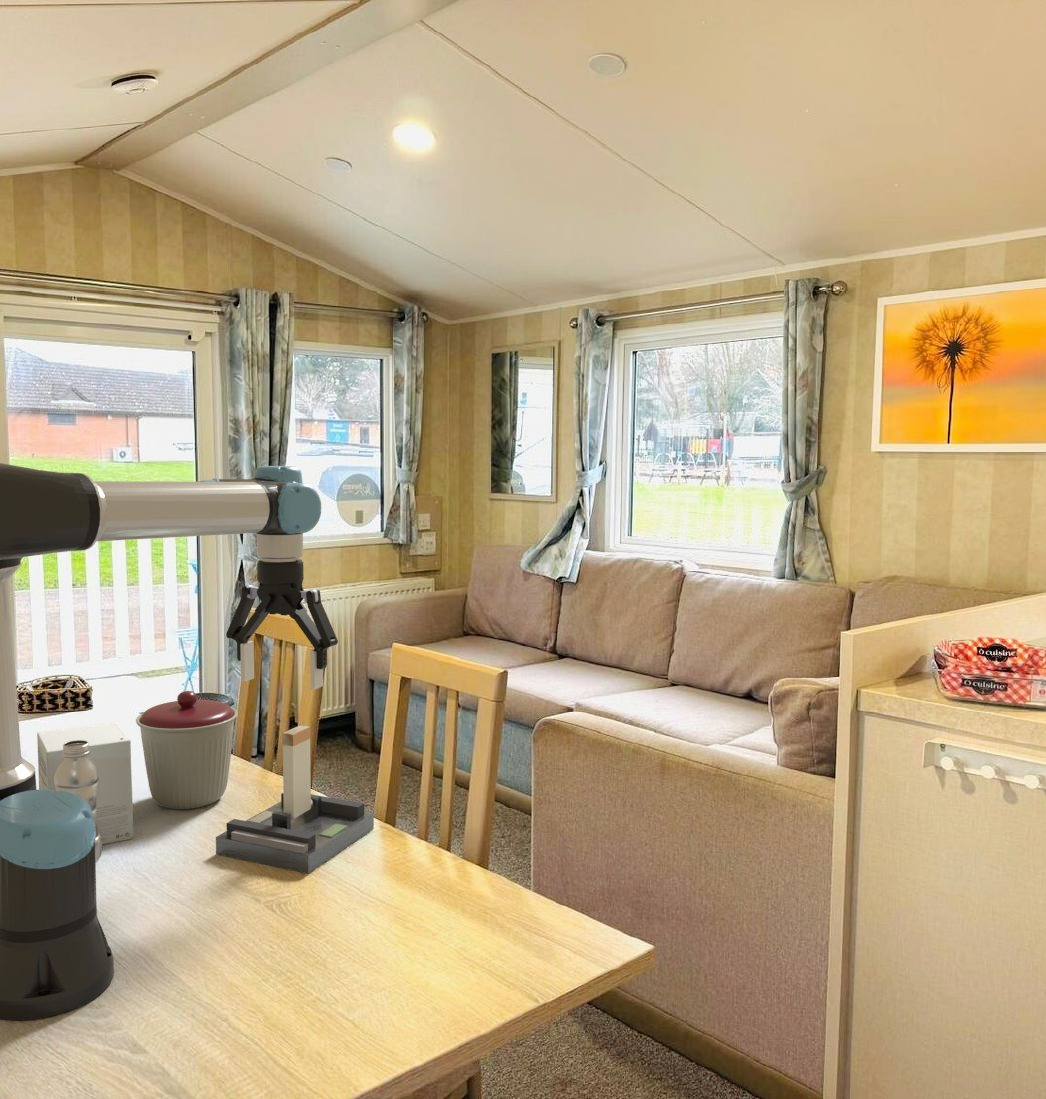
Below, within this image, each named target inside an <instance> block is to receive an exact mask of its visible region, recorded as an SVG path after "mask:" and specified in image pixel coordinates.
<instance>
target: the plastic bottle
mask: <svg viewBox="0 0 1046 1099" xmlns="http://www.w3.org/2000/svg"><path fill="white" fill-rule="evenodd" d="M62 755H63V757H65V758H64V760H63V762H62V763H61V764H60V766H59V767H58V769H57V771H56V772H55V776H54V783H55V788H56V791H59V790H62V791H67V792H71V793H74V794H76V795H78V796H80V797H82V798H83V799H84V800H86V801H87V802H88V804H89V805H90V807H91V809H92V813H93V820H94V824H95V829H96V840H95V864H96V863H98V862H99V860H100V858H102V852H103V844H102V842H101V838H100V834H99V830H98V822H97V815H96V812H97V808H96V806H97V789H98V780H99V773H98V770H97V767H96V766H95V765H94V763H93V762H92V761H91V760H90V759H89V758H88V756H87V755H89V743H88V741H85V740H75V741H69V742H66V743H64V744H63V753H62Z"/></svg>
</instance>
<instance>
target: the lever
mask: <svg viewBox="0 0 1046 1099" xmlns="http://www.w3.org/2000/svg"><path fill="white" fill-rule="evenodd" d="M281 735H282V780H283V781H282V783H283V786H282V789H283V791H282V793H283V802H284V813H289V814H291V819H294V818H296V817H298V816H300V815H301V814H303V813H305V812H306V811H308V810H310V809H311V807H313V801H312V800H311V794H312V793H311V792H312V791H311V787H312V786H311V783H312V782H311V781H312V780H311V779H312V778H311V775H312V774H311V726H308V725H306V726H305V725H298V726H295V727H294V728H291V729H289V730H286V731H284V732H282V734H281Z"/></svg>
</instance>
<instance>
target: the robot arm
mask: <svg viewBox="0 0 1046 1099" xmlns="http://www.w3.org/2000/svg"><path fill="white" fill-rule="evenodd" d="M321 515H322V500H321V497H320V495H319V493H318V492H317V490H316V489H315V488H314V487H313V486H311V485H309V484H307V483H303V475H302V471H301V469H300V468H299V467H297V466H292V465H291V466H290V465H289V466H288V465H264V466H263V465H260V466H257V467H256V470H255V475H254V478H250V479H249V478H220V479H219V478H211V479H203V480H199V481H134V480H133V481H132V480H131V481H128V480H126V481H112V480H111V481H110V480H109V481H103V480H101V481H97V480H96V481H94V480H93V479H92V478H91V477H90V476H89V475H87V474H85V473H81V472H57V471H51V470H50V471H49V470H43V469H37V468H36V469H35V468H31V467H30V468H29V467H24V466H18V465H13V464H9V463H0V1019H3V1020H11V1021H12V1020H13V1021H24V1020H25V1021H26V1020H27V1021H29V1020H35V1019H36V1020H37V1019H42V1018H47V1017H52V1016H56V1015H60V1014H63V1013H67V1012H68V1011H71V1010H74V1009H76V1008H78V1007H81V1006H83V1005H85V1004H86V1003H89V1002H90V1001H92V1000H93V999H96V998H97V997H99V996H100V995H101V994H103V992H104V991H105V990H106V989H107V988H108V987H109V986H110V984H111V983H112V981H113V980H114V975H115V970H114V968H115V967H114V964H115V963H114V962H115V961H114V955H113V951H112V949H111V947H110V946H109V943H108V941H107V940H108V939H107V938H106V935H105V932H104V930H103V927H102V925H101V923H100V921H99V919H98V910H97V909H98V908H97V874H96V873H97V870H96V869H97V868H96V866H97V865H96V863H95V840H96V829H95V824H94V820H93V813H92V809H91V807H90V805H89V804H88V802H87V801H86V800H84V799H83V798H82V797H80V796H78V795H76V794H74V793H71V792H67V791H62V790H59V791H55V792H53V791H52V790H51V789H41V790H39V789H37V778H36V767H35V766H34V764H32V763H31V762H30V761H28V760H27V759H25V758H23V757H22V749H21V736H20V723H19V722H20V721H19V706H18V694H17V692H18V691H17V679H16V665H15V664H16V663H15V650H14V649H15V648H14V636H13V635H14V634H13V622H12V621H13V620H12V607H11V606H12V605H11V592H10V579H11V577H12V576H13V575H14V574H15V573H16V572H17V571H18V569H19V568H20V567H21V565H22V563H21V558H26V557H33V556H41V555H47V554H56V553H67V552H77V551H87V550H90V549H91V548H92V547H93V546H94V545H95V544H96V543H97V542H111V541H126V540H127V541H129V540H131V541H133V540H145V539H146V540H148V539H149V540H150V539H167V538H183V537H184V538H186V537H189V538H190V537H201V536H202V537H204V536H207V537H208V536H220V535H221V536H222V535H223V536H225V535H241V534H256V557H257V558H258V559H259V560H258V561H257V562H256V575H257V577H256V579H257V582H258V586H257V585H255V584H248V585H244V586H242V587H241V594H240V600H239V603H238V605H237V607H236V610H235V612H234V614H233V617H232V618H231V622H230V624H229V626H228V629H227V631H226V634H225V635H226V638H227V639H232V640H234V641H235V643H236V658H237V661H238V662H240V682H241V683H246V682H249V681H251V680H254V679H255V650H254V649H255V647H254V646H255V645H254V643H255V642H254V641H253V640H252V638H251V637H252V636H254V633H256V631H257V630H258V628H259V627H260V626H261V625H262V623H263V622H264V620H265V619H266V618H267V616H268V615H273V616H274V615H280V616H289V617H290V618H291V619H292V620H294V622H296V624H297V626H298V627H299V628H300V629H301V631H302V632H303V634H304V635H305V638H307V639H308V641H309V643H310V644H311V645H312V647H313V649H311V650H309V657H310V659H309V662H310V669H309V670H310V677H309V678H310V690H317V689H320V688H322V687H323V686H324V669H326V668H327V665H328V649H329V648H330V647H331V648H332V647H333V646H334V647H335V646H336V645H337V644H338V643H339V641H338V637H337V635H336V633H335V630H334V629H333V626H332V624H331V621H330V619H329V617H328V614H327V612H326V610H325V608H324V605H323V604H322V597H321V591H320V590H319V588H315V589H311V590H304V588H303V587H304V586H303V582H304V574H305V573H304V572H305V571H304V561H303V560H302V559H300V558H302V557H303V556H304V534H305V533H308V532H310V531H311V530H313V529H314V528H315V527H316V526H317V525H318V523H319V521H320V519H321ZM257 597H258V598H259V601H260V602H259V603H258V605H257V606H256V608H255V609H254V612H253V614H252V615H251V616H250V613H251V610H252V608H253V606H254V603H255V600H256V599H257ZM302 601H304V603H306V604H307V608H306V607H305V605H304V603H302ZM308 611H309V613H310V615H311V617H310V615H309V614H308ZM249 616H250V617H249ZM248 617H249V619H248Z"/></svg>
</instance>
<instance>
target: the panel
mask: <svg viewBox="0 0 1046 1099" xmlns="http://www.w3.org/2000/svg"><path fill="white" fill-rule="evenodd" d="M321 796H322V795H318V796H317V794H312V795H311V800H312V801H313V807H311V809H310V810H308V811H306V812H305V813H303V814H301V815H300V816H298V817H296V818H294V819H291V814H289V813H284V805H281V801H279V802H278V803H275V804H273V805H272V806H269V807H267V809H265V810H263V811H260V812H259V813H257V814H255V815H254V816H251V817H250V818H248V819H246V820H245V821H248V822H253V823H259V824H264V825H269V826H274V827H280V828H285V829H290V830H296V831H301V832H306V833H311V834H315V838H316V846H315V847H314V848H312V849H311V850H309V851H307V852H306V853H304V854H301V853H296V852H291V851H286V850H281V849H276V848H271V847H266V846H261V845H256V844H251V843H246V842H241V841H236V840H231V835H227V830H225V832H222V833H221V834H219V835H217V836H215V854H216V855H217V856H221V857H227V858H230V859H236V860H241V861H245V862H249V863H256V864H261V865H264V866H270V867H274V868H279V869H284V870H287V871H288V870H289V871H294V872H299V873H303V874H307V875H308V874H310V873H312V872H314V871H315V870H316V869H318V868H319V867H320V866H322V865H324V863H326V862H328V861H329V860H331V859H332V858H334V857H335V856H336V855H338V854H340V853H341V852H342V851H344V850H345V849H347V848H349V846H351V845H352V844H354V843H355V842H357V841H358V840H359V839H361V838H362V837H364V836H366V835H367V834H369V833H370V832H371V831H372V830H374V828H375V824H374V823H375V821H374V820H375V819H374V811H369V810H368V811H367V810H364V815H363V816H361V817H360V818H353V817H348V816H342V815H336V814H331V813H325V812H322V810H321Z"/></svg>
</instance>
